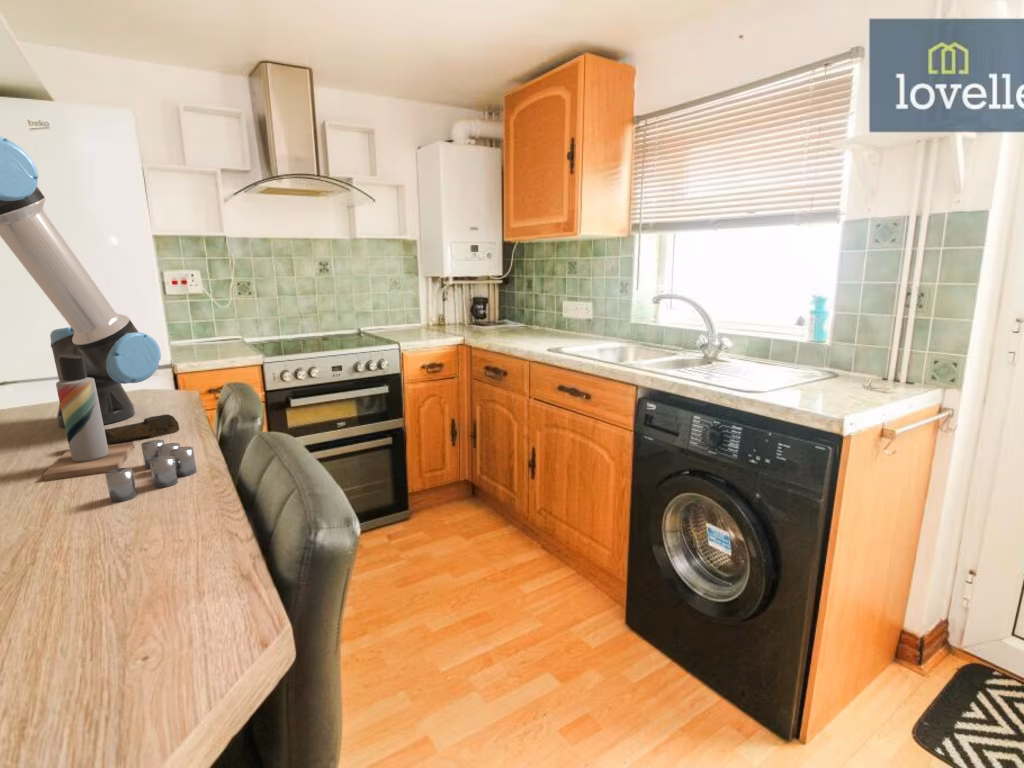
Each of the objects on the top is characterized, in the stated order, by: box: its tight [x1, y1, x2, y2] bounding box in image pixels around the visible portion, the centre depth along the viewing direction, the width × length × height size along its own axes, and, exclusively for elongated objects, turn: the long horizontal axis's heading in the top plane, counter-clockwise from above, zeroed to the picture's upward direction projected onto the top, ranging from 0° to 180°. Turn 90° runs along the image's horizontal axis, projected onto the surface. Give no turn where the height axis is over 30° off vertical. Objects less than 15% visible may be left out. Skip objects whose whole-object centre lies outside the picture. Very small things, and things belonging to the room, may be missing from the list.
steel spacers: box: [104, 439, 197, 503], centre depth 97 cm, size 18×12×4 cm, turn 24°
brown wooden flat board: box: [42, 441, 135, 482], centre depth 104 cm, size 14×11×1 cm
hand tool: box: [104, 414, 180, 445], centre depth 116 cm, size 19×4×5 cm, turn 130°
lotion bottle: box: [55, 354, 109, 462], centre depth 102 cm, size 6×6×20 cm
